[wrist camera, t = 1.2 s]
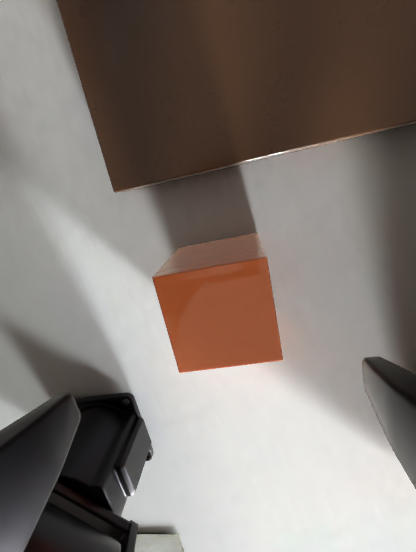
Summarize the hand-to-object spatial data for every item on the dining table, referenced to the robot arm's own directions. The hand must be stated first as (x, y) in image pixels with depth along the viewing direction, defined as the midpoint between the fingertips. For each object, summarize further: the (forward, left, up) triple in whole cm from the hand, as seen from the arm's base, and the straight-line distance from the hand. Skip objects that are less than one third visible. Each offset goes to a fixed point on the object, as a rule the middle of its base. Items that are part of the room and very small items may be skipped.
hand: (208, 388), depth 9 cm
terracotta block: (0, 0, -10) cm, 10 cm away
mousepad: (-22, -32, -11) cm, 40 cm away
